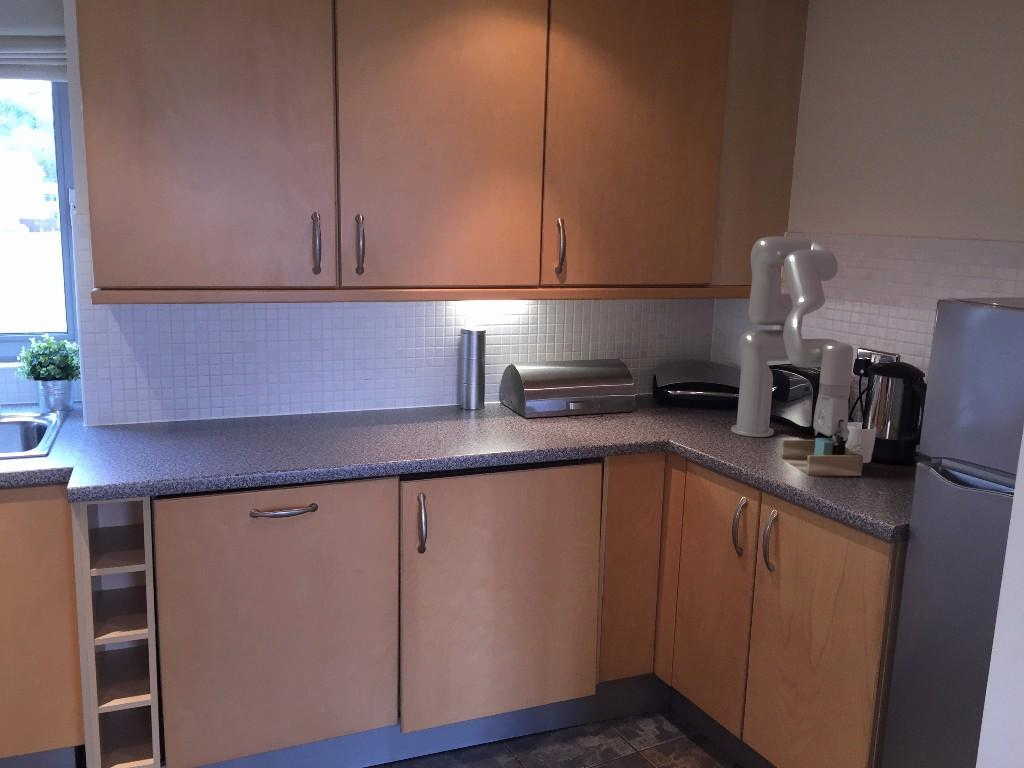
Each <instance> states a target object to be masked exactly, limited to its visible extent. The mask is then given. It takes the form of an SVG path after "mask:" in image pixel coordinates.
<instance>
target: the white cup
mask: <svg viewBox="0 0 1024 768" xmlns="http://www.w3.org/2000/svg"><path fill="white" fill-rule="evenodd" d="M862 423H863V422H857V421H852V422H849V421H848V427H847V428H848V429H849V431H850V434H849V436H848V441H847V444H846V445H845V447H847V448H849V449H850V450H852V451H854V452H856V453H858V454H860V455H862V456H863V464H868V463H871V461H872V458H873V457H872V456H873V455H872V454H873V451H874V447H875V440H876V435H877V429H876V428H874V429H862ZM875 434H876V435H875Z"/></svg>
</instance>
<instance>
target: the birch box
mask: <svg viewBox="0 0 1024 768" xmlns="http://www.w3.org/2000/svg"><path fill="white" fill-rule="evenodd" d="M814 444H815V439H781V449H780V459H782V460H783V461H785V462H786V463H787V464H789V465H790V466H793V467H794V468H795V469H797V470H798V471H800V472H801V473H803V474H805V475H806V476H808V477H810V476H811V477H812V476H814V477H817V476H818V477H827V476H828V477H830V476H831V477H833V476H835V477H836V476H837V477H838V476H845V477H847V476H848V477H849V476H851V477H854V476H860V477H861V476H862V473H863V465H864V463H863V456H862V455H860V454H858V453H856V452H854V451H852V450H850V449H849V448H847V447H845V454H844V455H814Z"/></svg>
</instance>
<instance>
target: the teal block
mask: <svg viewBox="0 0 1024 768" xmlns="http://www.w3.org/2000/svg"><path fill="white" fill-rule="evenodd" d="M814 440H815V439H814ZM832 445H834V441H833V437H827V438H816V440H815V450H814V455H832Z"/></svg>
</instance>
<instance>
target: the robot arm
mask: <svg viewBox="0 0 1024 768" xmlns="http://www.w3.org/2000/svg"><path fill="white" fill-rule="evenodd" d="M750 266H751V277H752V279H751V286H750V296H749V305H748V317H749V318H748V319H749V320H750V322H751V324H752V323H753V324H754V325H757V326H779V328H778V329H771V328H769V329H768V328H766V329H765V328H763V329H761V328H760V329H759V328H758V329H757V328H756V329H751V330H750V329H749V330H748V331H746V332H744V333H743V334H742V335H741V337H740V339H739V355H740V379H739V390H738V391H739V393H738V403H737V404H738V405H737V418H736V424H733V425H731V428H730V431H731V432H732V433H733V434H736V435H739V436H740V435H741V436H744V437H745V436H746V437H751V438H766V437H768V438H769V437H771V436H773V435H774V433H775V430H774V428H771V427H770V421H771V420H770V418H771V408H772V407H771V406H772V395H773V385H774V384H773V383H774V376H773V372H772V370H771V368H770V366H769V365H768V362H786V361H789V362H790V363H791V365H793V366H795V367H797V368H820V374H819V387H818V396H817V399H816V402H815V403H816V404H815V409H814V416H813V425H812V427H813V429H814V440H816V438H828V437H831V436H832V437H831V438H833V441H834V445H832V455H844V454H845V445H846V444H847V441H848V436H849V434H850V431H849V429H848V428H847V427H848V423H849V399H850V395H851V394H850V393H851V382H852V375H853V373H852V372H853V360H854V347H853V346H852V344H849V343H844V342H840V341H838V340H836V339H833V338H803V335H802V326H803V321H804V320H803V319H804V316H807V315H808V314H811V313H813V312H815V311H818V310H819V309H821V308H822V307H823V306H824V305H825V303H826V296H825V293H824V289H823V284H822V282H827V281H832V280H833V279H834V278H835V277H836V275H837V273H838V270H839V265H838V260H837V258H836V256H835V254H834V253H833V252H832V251H831V250H830V249H828V248H827V247H826V246H824V245H823V244H821V243H820V242H818V241H816V240H815V239H813V238H811V237H804V236H803V237H799V236H775V235H774V236H765V237H761V238H759V239H757V240H756V242H755V243H754V244H753V247H752V248H751V252H750ZM778 267H783V268H784V272H785V275H786V276H785V277H786V281H787V282H786V283H787V286H788V290H789V293H782V285H783V278H782V275H781V273H780V270H779V269H778ZM814 450H815V444H814Z"/></svg>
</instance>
